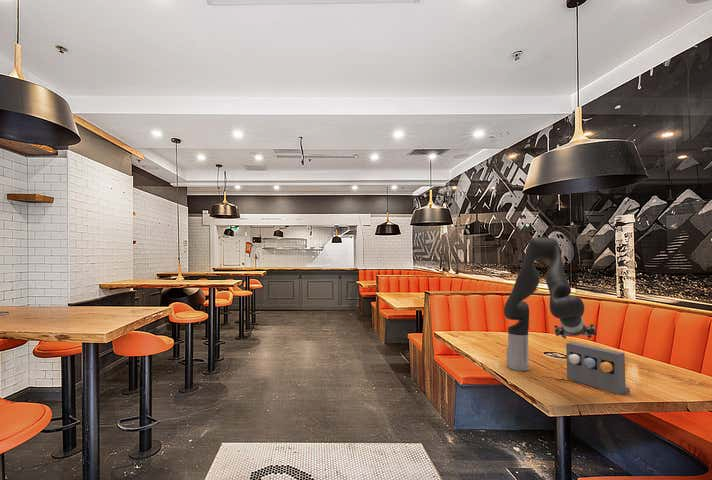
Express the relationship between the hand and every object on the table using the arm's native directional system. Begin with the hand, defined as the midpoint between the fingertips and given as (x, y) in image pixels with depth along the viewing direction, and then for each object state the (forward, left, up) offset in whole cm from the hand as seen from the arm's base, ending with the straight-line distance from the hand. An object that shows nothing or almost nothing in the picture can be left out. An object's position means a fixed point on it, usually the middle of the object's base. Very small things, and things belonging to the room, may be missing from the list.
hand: (576, 336), depth 145 cm
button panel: (0, +14, -22) cm, 26 cm away
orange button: (+6, +10, -14) cm, 18 cm away
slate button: (0, +10, -14) cm, 17 cm away
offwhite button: (-7, +10, -14) cm, 18 cm away
